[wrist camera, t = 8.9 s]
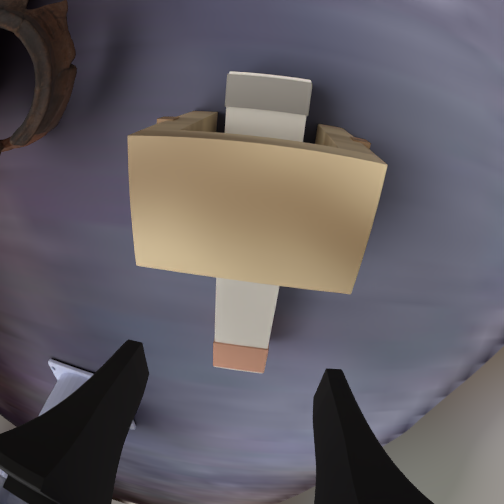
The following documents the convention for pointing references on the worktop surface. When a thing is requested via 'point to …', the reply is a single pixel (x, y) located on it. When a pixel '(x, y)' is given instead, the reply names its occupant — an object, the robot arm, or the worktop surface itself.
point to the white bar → (241, 292)
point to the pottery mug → (42, 65)
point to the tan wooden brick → (252, 203)
